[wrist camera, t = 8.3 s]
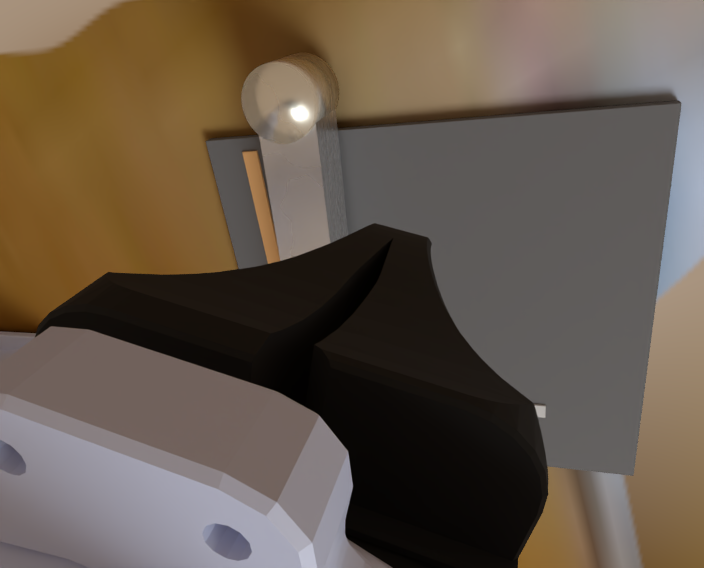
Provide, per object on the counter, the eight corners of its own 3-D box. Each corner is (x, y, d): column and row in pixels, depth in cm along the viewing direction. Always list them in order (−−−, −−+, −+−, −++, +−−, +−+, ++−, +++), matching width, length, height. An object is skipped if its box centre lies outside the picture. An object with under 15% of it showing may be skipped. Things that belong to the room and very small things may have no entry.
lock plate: (285, 431, 28) (281, 438, 28) (210, 138, 21) (204, 141, 21) (632, 468, 23) (633, 477, 23) (678, 100, 16) (682, 104, 16)
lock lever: (382, 392, 24) (367, 430, 22) (305, 383, 25) (285, 419, 23) (352, 48, 18) (329, 58, 16) (251, 56, 19) (216, 66, 17)
